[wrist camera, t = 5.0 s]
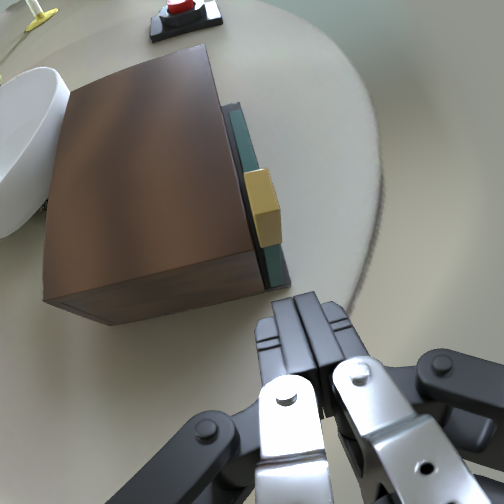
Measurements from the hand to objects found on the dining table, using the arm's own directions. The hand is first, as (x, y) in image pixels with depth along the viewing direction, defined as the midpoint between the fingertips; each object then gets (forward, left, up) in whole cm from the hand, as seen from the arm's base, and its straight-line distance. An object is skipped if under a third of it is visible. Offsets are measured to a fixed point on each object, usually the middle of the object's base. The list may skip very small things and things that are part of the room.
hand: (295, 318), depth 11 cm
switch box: (+3, -44, -10) cm, 45 cm away
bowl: (+24, -22, -11) cm, 34 cm away
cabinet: (+7, -13, -10) cm, 18 cm away
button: (+3, -44, -8) cm, 45 cm away
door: (0, -8, -9) cm, 13 cm away
